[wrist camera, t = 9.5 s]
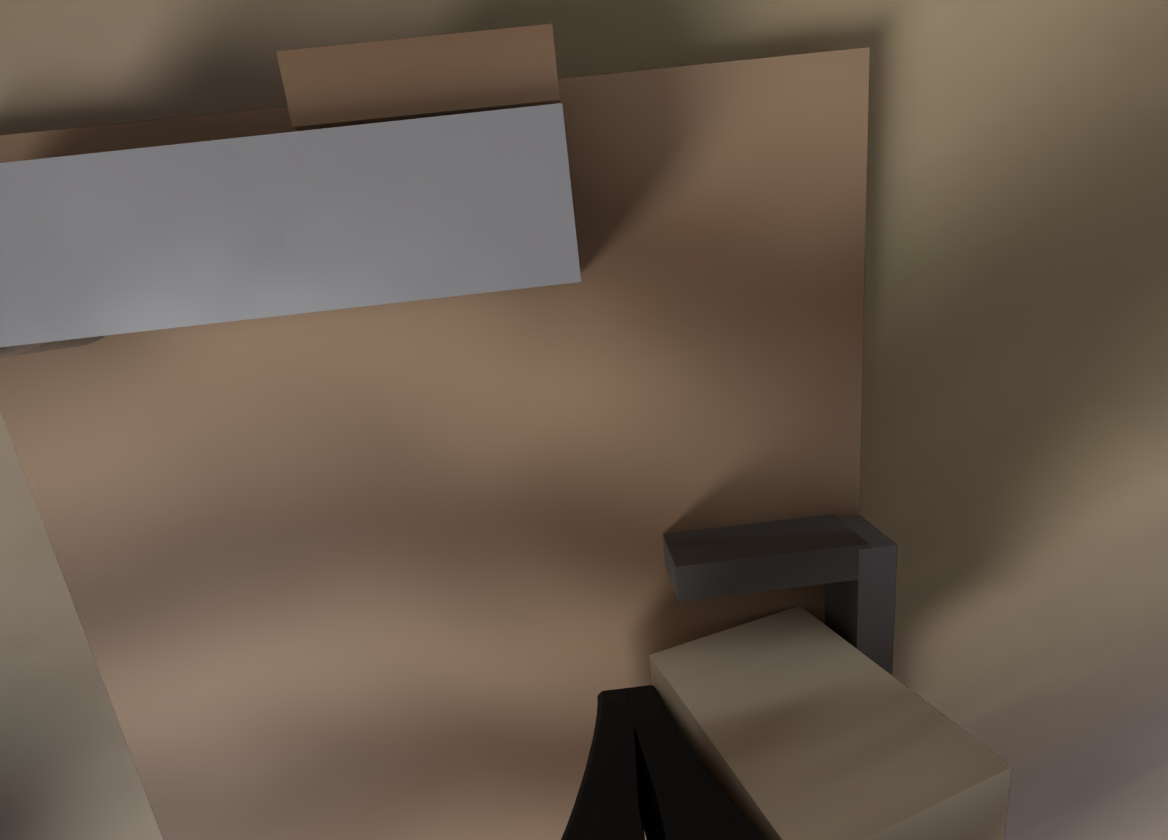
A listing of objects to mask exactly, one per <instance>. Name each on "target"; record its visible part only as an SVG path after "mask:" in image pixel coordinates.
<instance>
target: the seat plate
mask: <svg viewBox="0 0 1168 840" xmlns="http://www.w3.org/2000/svg"><path fill="white" fill-rule="evenodd" d="M276 54H277V58H278V63H279V68H280V72H281V77H282V82H283V86H284V91H285V96H286V100H287V105H288V106H285V107H275V108H265V109H255V110H245V111H236V112H226V113H216V114H206V115H196V116H186V117H177V118H167V119H157V120H147V121H137V122H127V123H117V124H108V125H98V126H88V127H78V128H68V129H58V130H48V131H39V132H29V133H19V134H9V135H0V163H6V162H15V161H24V160H34V159H43V158H52V157H62V156H71V155H80V154H90V153H99V152H108V151H118V150H127V149H137V148H146V147H155V146H165V145H174V144H183V143H193V142H202V141H211V140H221V139H230V138H239V137H249V136H258V135H268V134H277V133H286V132H296V131H305V130H314V129H324V128H333V127H342V126H352V125H361V124H370V123H380V122H389V121H399V120H408V119H417V118H427V117H436V116H445V115H455V114H464V113H473V112H483V111H492V110H501V109H511V108H520V107H530V106H539V105H548V104H558V103H562V106H563V116H564V125H565V134H566V144H567V153H568V162H569V172H570V181H571V191H572V200H573V209H574V219H575V228H576V237H577V247H578V256H579V266H580V275H581V282H577V283H568V284H559V285H550V286H541V287H532V288H524V289H515V290H506V291H497V292H488V293H479V294H470V295H461V296H453V297H444V298H435V299H426V300H417V301H408V302H399V303H390V304H381V305H373V306H364V307H355V308H346V309H337V310H328V311H319V312H310V313H301V314H293V315H284V316H275V317H266V318H257V319H248V320H239V321H230V322H222V323H213V324H204V325H195V326H186V327H177V328H168V329H159V330H150V331H142V332H133V333H124V334H115V335H106V336H105V337H104V338H102V339H100V340H98V341H96V342H94V343H91V344H88V345H83V346H78V347H71V348H64V349H58V350H51V351H44V352H37V353H31V354H24V355H17V356H11V357H4V358H0V410H1V413H2V416H3V418H4V421H5V424H6V426H7V429H8V431H9V434H10V437H11V439H12V442H13V445H14V447H15V450H16V453H17V455H18V458H19V460H20V463H21V466H22V468H23V471H24V474H25V476H26V479H27V482H28V484H29V487H30V489H31V492H32V495H33V497H34V500H35V503H36V505H37V508H38V511H39V513H40V516H41V519H42V521H43V524H44V526H45V529H46V532H47V534H48V537H49V540H50V542H51V545H52V548H53V550H54V553H55V555H56V558H57V561H58V563H59V566H60V569H61V571H62V574H63V577H64V579H65V582H66V584H67V587H68V590H69V592H70V595H71V598H72V600H73V603H74V606H75V608H76V611H77V613H78V616H79V619H80V621H81V624H82V627H83V629H84V632H85V635H86V637H87V640H88V642H89V645H90V648H91V650H92V653H93V656H94V658H95V661H96V664H97V666H98V669H99V671H100V674H101V677H102V679H103V682H104V685H105V687H106V690H107V693H108V695H109V698H110V700H111V703H112V706H113V708H114V711H115V714H116V716H117V719H118V722H119V724H120V727H121V729H122V732H123V735H124V737H125V740H126V743H127V745H128V748H129V751H130V753H131V756H132V758H133V761H134V764H135V766H136V769H137V772H138V774H139V777H140V780H141V782H142V785H143V787H144V790H145V793H146V795H147V798H148V801H149V803H150V806H151V809H152V811H153V814H154V816H155V819H156V822H157V824H158V827H159V830H160V832H161V835H162V838H163V840H561V838H562V836H563V833H564V831H565V828H566V826H567V823H568V820H569V818H570V815H571V812H572V809H573V807H574V804H575V800H576V797H577V794H578V791H579V788H580V785H581V782H582V778H583V775H584V772H585V768H586V764H587V760H588V756H589V752H590V748H591V744H592V739H593V734H594V729H595V723H596V716H597V704H598V701H597V696H598V695H599V694H600V692H601V691H606V690H614V689H622V688H630V687H638V686H646V685H652V680H651V669H650V657H649V655H651V654H654V653H657V652H660V651H663V650H666V649H669V648H672V647H675V646H678V645H681V644H684V643H687V642H690V641H693V640H697V639H700V638H703V637H706V636H709V635H712V634H715V633H718V632H721V631H724V630H727V629H730V628H733V627H736V626H739V625H742V624H745V623H748V622H751V621H754V620H758V619H761V618H764V617H767V616H770V615H773V614H776V613H779V612H782V611H785V610H788V609H791V608H794V607H797V606H801V607H802V608H804V609H805V610H806V611H808V612H809V613H810V614H812V615H813V616H814V617H815V618H817V619H818V620H819V621H821V622H822V623H823V624H825V625H826V626H827V627H829V628H830V629H831V630H833V631H834V632H835V633H837V634H838V635H839V636H840V637H842V638H843V639H844V640H846V641H847V642H848V643H850V644H851V645H852V646H854V647H855V648H856V649H858V650H859V651H860V652H862V653H863V654H864V655H865V656H867V657H868V658H869V659H871V660H872V661H873V662H875V663H876V664H877V665H879V666H880V667H881V668H883V669H884V670H885V671H887V672H888V673H889V674H891V675H892V663H893V638H894V614H895V589H896V565H897V544H895V543H894V542H893V541H892V540H890V539H889V538H888V537H887V536H885V535H884V534H883V533H882V532H880V531H879V530H878V529H877V528H875V527H874V526H873V525H871V524H870V523H869V522H868V521H866V520H865V519H864V518H863V517H861V516H860V515H859V512H860V466H861V420H862V375H863V329H864V283H865V237H866V191H867V145H868V99H869V54H870V47H866V48H856V49H846V50H837V51H827V52H817V53H807V54H797V55H787V56H777V57H768V58H758V59H748V60H738V61H728V62H718V63H709V64H699V65H689V66H679V67H669V68H659V69H649V70H640V71H630V72H620V73H610V74H600V75H590V76H580V77H571V78H561V79H558V75H557V65H556V56H555V46H554V36H553V27H552V24H543V25H533V26H523V27H513V28H503V29H493V30H483V31H473V32H463V33H453V34H443V35H433V36H422V37H412V38H402V39H392V40H382V41H372V42H362V43H352V44H342V45H332V46H322V47H312V48H302V49H292V50H282V51H276ZM644 833H645V831H644ZM645 840H646V835H645Z"/></svg>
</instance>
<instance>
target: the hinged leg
mask: <svg viewBox="0 0 1168 840" xmlns="http://www.w3.org/2000/svg"><path fill="white" fill-rule="evenodd" d="M577 282H581V275H580V266H579V256H578V247H577V237H576V228H575V219H574V209H573V200H572V191H571V181H570V172H569V162H568V153H567V144H566V134H565V125H564V116H563V106H562V103H558V104H548V105H539V106H530V107H520V108H511V109H501V110H492V111H483V112H473V113H464V114H455V115H445V116H436V117H427V118H417V119H408V120H399V121H389V122H380V123H370V124H361V125H352V126H342V127H333V128H324V129H314V130H305V131H296V132H286V133H277V134H268V135H258V136H249V137H239V138H230V139H221V140H211V141H202V142H193V143H183V144H174V145H165V146H155V147H146V148H137V149H127V150H118V151H108V152H99V153H90V154H80V155H71V156H62V157H52V158H43V159H34V160H24V161H15V162H6V163H0V358H4V357H11V356H17V355H24V354H31V353H37V352H44V351H51V350H58V349H64V348H71V347H78V346H83V345H88V344H91V343H94V342H96V341H98V340H100V339H102V338H104V337H105V336H106V335H115V334H124V333H133V332H142V331H150V330H159V329H168V328H177V327H186V326H195V325H204V324H213V323H222V322H230V321H239V320H248V319H257V318H266V317H275V316H284V315H293V314H301V313H310V312H319V311H328V310H337V309H346V308H355V307H364V306H373V305H381V304H390V303H399V302H408V301H417V300H426V299H435V298H444V297H453V296H461V295H470V294H479V293H488V292H497V291H506V290H515V289H524V288H532V287H541V286H550V285H559V284H568V283H577Z"/></svg>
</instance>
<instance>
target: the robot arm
mask: <svg viewBox="0 0 1168 840" xmlns="http://www.w3.org/2000/svg"><path fill="white" fill-rule="evenodd" d="M597 701H598V704H597V716H596V723H595V729H594V734H593V739H592V744H591V748H590V752H589V756H588V760H587V764H586V768H585V772H584V775H583V778H582V782H581V785H580V788H579V791H578V794H577V797H576V800H575V804H574V807H573V809H572V812H571V815H570V818H569V820H568V823H567V826H566V828H565V831H564V833H563V836H562V838H561V840H645V835H646V840H765V839H764V838H763V837H762V836H761V835H760V834H759V833H758V832H757V831H756V830H755V829H754V828H753V827H752V826H751V825H750V823H749V822H748V821H747V820H746V819H745V818H744V817H743V816H742V814H741V813H740V812H739V811H738V810H737V809H736V808H735V806H734V805H733V804H732V803H731V802H730V800H729V799H728V798H727V797H726V796H725V794H724V793H723V792H722V791H721V789H720V788H719V787H718V785H717V784H716V783H715V782H714V780H713V779H712V778H711V776H710V775H709V774H708V772H707V771H706V770H705V768H704V767H703V766H702V764H701V763H700V761H699V760H698V759H697V757H696V756H695V754H694V753H693V751H692V750H691V748H690V747H689V745H688V744H687V742H686V741H685V739H684V738H683V736H682V735H681V733H680V732H679V730H678V728H677V727H676V725H675V723H674V722H673V720H672V718H671V717H670V715H669V713H668V711H667V709H666V708H665V706H664V704H663V702H662V700H661V698H660V695H659V693H658V692H657V690H656V689H655V687H654V686H653V685H646V686H638V687H630V688H622V689H614V690H606V691H601V692H600V694H599V695H598V696H597ZM644 831H645V833H644Z"/></svg>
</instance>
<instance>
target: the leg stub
mask: <svg viewBox="0 0 1168 840" xmlns="http://www.w3.org/2000/svg"><path fill="white" fill-rule="evenodd" d="M649 657H650V669H651V680H652V685H653V686H654V687H655V689H656V690H657V692H658V693H659V695H660V698H661V700H662V702H663V704H664V706H665V708H666V709H667V711H668V713H669V715H670V717H671V718H672V720H673V722H674V723H675V725H676V727H677V728H678V730H679V732H680V733H681V735H682V736H683V738H684V739H685V741H686V742H687V744H688V745H689V747H690V748H691V750H692V751H693V753H694V754H695V756H696V757H697V759H698V760H699V761H700V763H701V764H702V766H703V767H704V768H705V770H706V771H707V772H708V774H709V775H710V776H711V778H712V779H713V780H714V782H715V783H716V784H717V785H718V787H719V788H720V789H721V791H722V792H723V793H724V794H725V796H726V797H727V798H728V799H729V800H730V802H731V803H732V804H733V805H734V806H735V808H736V809H737V810H738V811H739V812H740V813H741V814H742V816H743V817H744V818H745V819H746V820H747V821H748V822H749V823H750V825H751V826H752V827H753V828H754V829H755V830H756V831H757V832H758V833H759V834H760V835H761V836H762V837H763V838H764V839H765V840H1004V837H1005V828H1006V819H1007V810H1008V801H1009V791H1010V782H1011V773H1012V766H1010V765H1009V764H1008V763H1006V762H1005V761H1004V760H1002V759H1001V758H1000V757H998V756H997V755H996V754H995V753H993V752H992V751H991V750H989V749H988V748H987V747H985V746H984V745H983V744H981V743H980V742H979V741H977V740H976V739H975V738H973V737H972V736H971V735H969V734H968V733H967V732H966V731H964V730H963V729H962V728H960V727H959V726H958V725H956V724H955V723H954V722H952V721H951V720H950V719H948V718H947V717H946V716H944V715H943V714H942V713H941V712H939V711H938V710H937V709H935V708H934V707H933V706H931V705H930V704H929V703H927V702H926V701H925V700H923V699H922V698H921V697H919V696H918V695H917V694H916V693H914V692H913V691H912V690H910V689H909V688H908V687H906V686H905V685H904V684H902V683H901V682H900V681H898V680H897V679H896V678H894V677H893V676H892V675H891V674H889V673H888V672H887V671H885V670H884V669H883V668H881V667H880V666H879V665H877V664H876V663H875V662H873V661H872V660H871V659H869V658H868V657H867V656H865V655H864V654H863V653H862V652H860V651H859V650H858V649H856V648H855V647H854V646H852V645H851V644H850V643H848V642H847V641H846V640H844V639H843V638H842V637H840V636H839V635H838V634H837V633H835V632H834V631H833V630H831V629H830V628H829V627H827V626H826V625H825V624H823V623H822V622H821V621H819V620H818V619H817V618H815V617H814V616H813V615H812V614H810V613H809V612H808V611H806V610H805V609H804V608H802V607H801V606H797V607H794V608H791V609H788V610H785V611H782V612H779V613H776V614H773V615H770V616H767V617H764V618H761V619H758V620H754V621H751V622H748V623H745V624H742V625H739V626H736V627H733V628H730V629H727V630H724V631H721V632H718V633H715V634H712V635H709V636H706V637H703V638H700V639H697V640H693V641H690V642H687V643H684V644H681V645H678V646H675V647H672V648H669V649H666V650H663V651H660V652H657V653H654V654H651V655H649Z"/></svg>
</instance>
